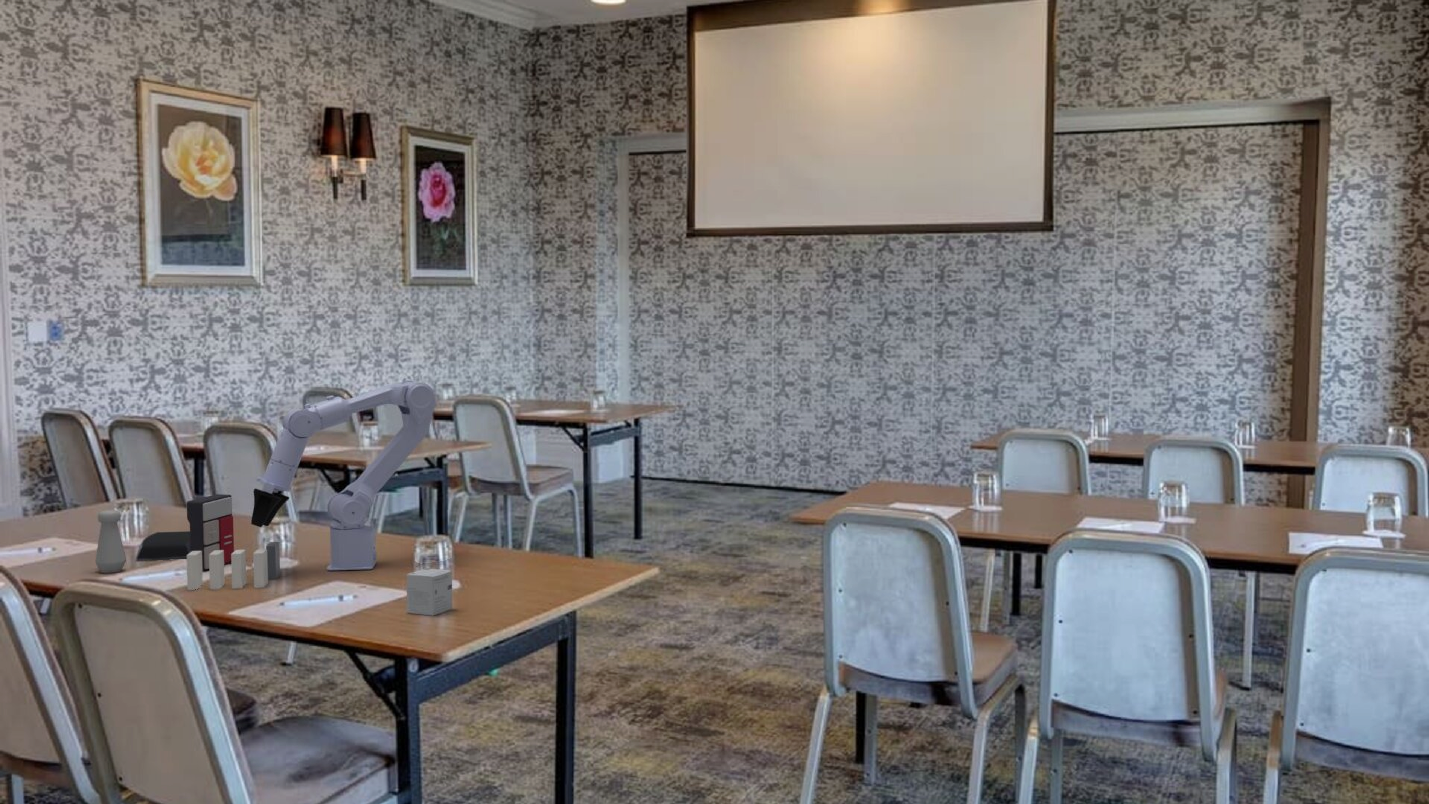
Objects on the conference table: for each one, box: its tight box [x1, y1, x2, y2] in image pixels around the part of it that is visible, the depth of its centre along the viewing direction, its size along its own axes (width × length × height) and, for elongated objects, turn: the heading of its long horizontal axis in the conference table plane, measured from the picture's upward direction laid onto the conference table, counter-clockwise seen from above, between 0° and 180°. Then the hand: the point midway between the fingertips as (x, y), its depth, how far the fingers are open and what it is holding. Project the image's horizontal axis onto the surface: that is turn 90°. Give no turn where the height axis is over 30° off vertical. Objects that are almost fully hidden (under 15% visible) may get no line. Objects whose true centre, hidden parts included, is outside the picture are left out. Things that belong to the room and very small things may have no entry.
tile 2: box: [252, 548, 269, 589], centre depth 244 cm, size 2×4×7 cm, turn 9°
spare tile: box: [265, 541, 281, 581], centre depth 252 cm, size 2×4×7 cm, turn 10°
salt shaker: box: [95, 509, 127, 574], centre depth 257 cm, size 6×6×13 cm
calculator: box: [186, 493, 235, 572], centre depth 262 cm, size 11×4×15 cm, turn 168°
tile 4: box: [208, 550, 226, 590], centre depth 243 cm, size 2×4×7 cm, turn 10°
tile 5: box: [186, 551, 204, 591], centre depth 242 cm, size 2×4×7 cm, turn 9°
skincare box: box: [406, 567, 453, 616], centre depth 224 cm, size 6×6×7 cm
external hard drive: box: [134, 530, 191, 563], centre depth 278 cm, size 13×19×4 cm
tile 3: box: [230, 549, 247, 590], centre depth 243 cm, size 2×4×7 cm, turn 10°
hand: (259, 525), depth 252 cm, fingers open, 7 cm apart
